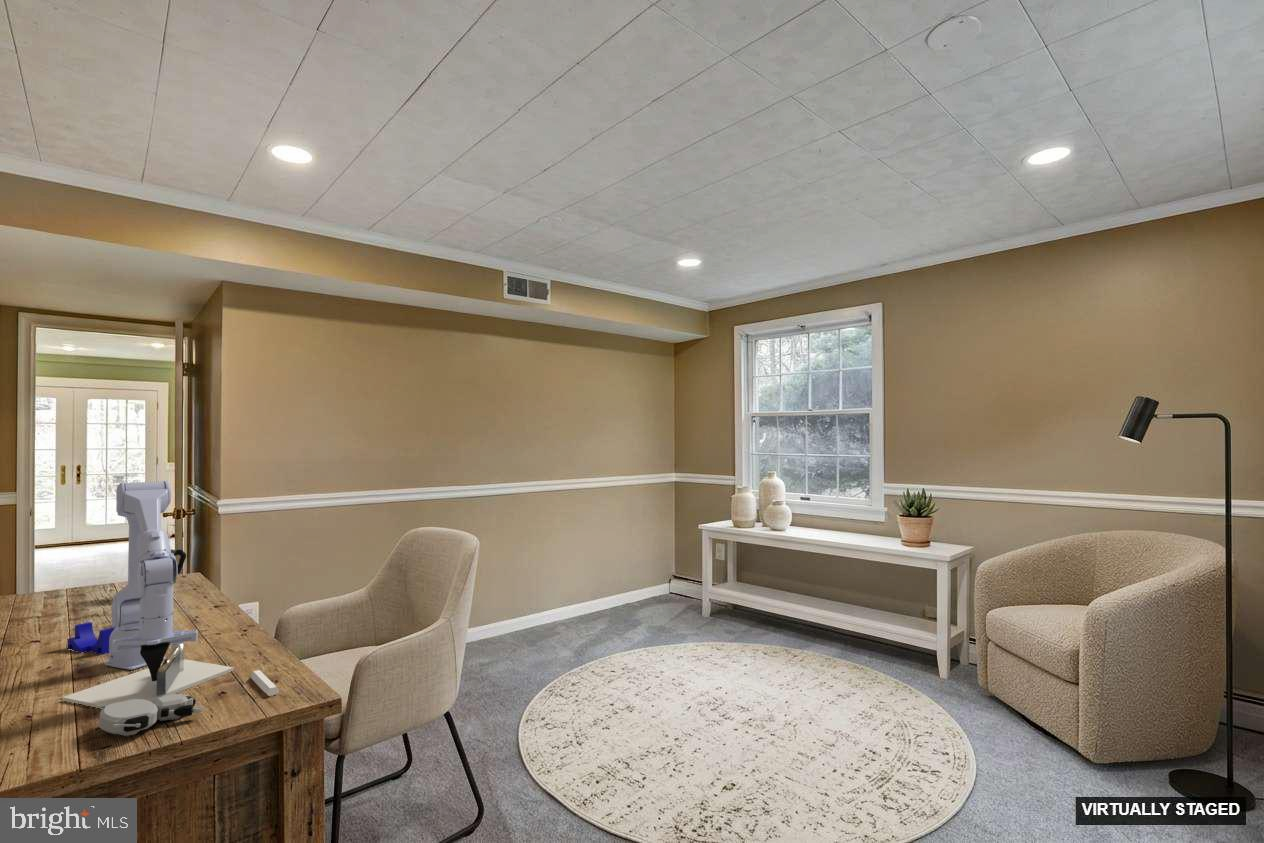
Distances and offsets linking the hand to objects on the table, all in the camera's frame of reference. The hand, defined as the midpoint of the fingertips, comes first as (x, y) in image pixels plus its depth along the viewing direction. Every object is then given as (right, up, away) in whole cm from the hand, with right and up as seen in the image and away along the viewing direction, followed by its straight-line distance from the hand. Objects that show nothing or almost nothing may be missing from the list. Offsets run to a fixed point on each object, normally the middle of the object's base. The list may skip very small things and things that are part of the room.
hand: (155, 679), depth 135 cm
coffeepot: (-57, -4, +79) cm, 97 cm away
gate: (+1, -2, +3) cm, 4 cm away
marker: (+20, -4, +5) cm, 21 cm away
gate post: (-3, -3, +11) cm, 12 cm away
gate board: (-4, -3, +5) cm, 7 cm away
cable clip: (-36, -4, +26) cm, 45 cm away
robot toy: (+9, -3, -14) cm, 17 cm away
